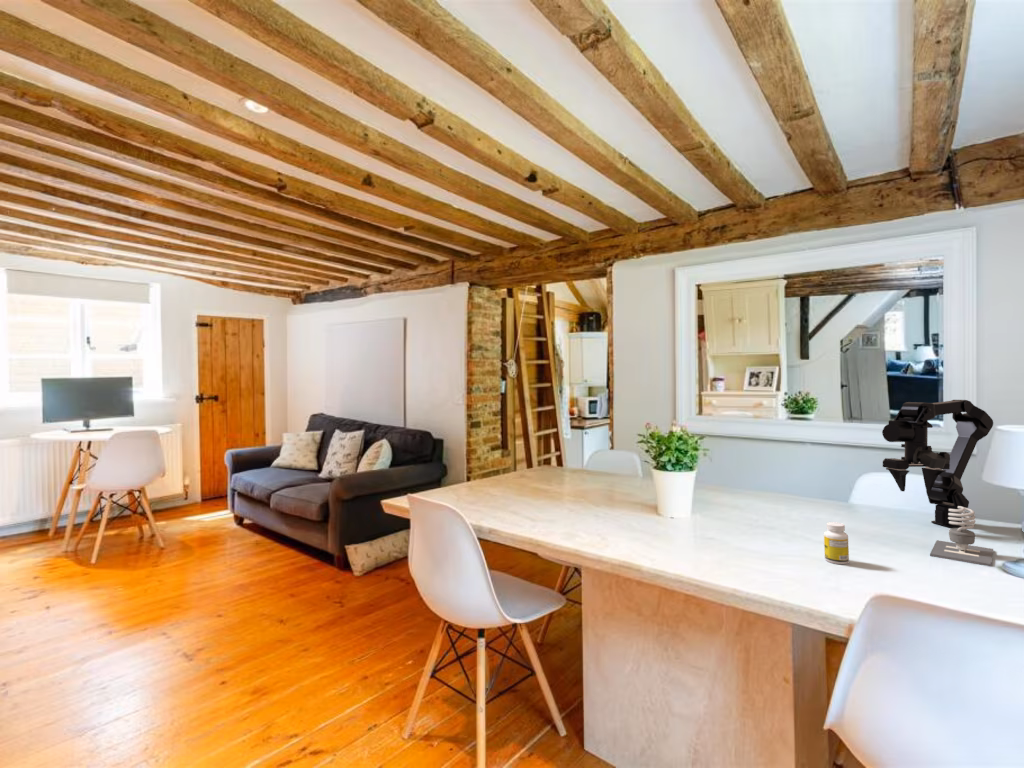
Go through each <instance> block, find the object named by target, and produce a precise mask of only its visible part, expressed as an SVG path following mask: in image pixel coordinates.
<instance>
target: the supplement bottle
mask: <svg viewBox="0 0 1024 768" xmlns="http://www.w3.org/2000/svg"><path fill="white" fill-rule="evenodd" d="M826 529H827V530H826V531H824V533H823V540H824V541H823V542H824V543H823V546H824V559H825V561H826V562H828V563H831V564H836V565H846V564H849V563H850V554H849V552H850V551H849V549H850V548H849V535H848V534H847V532H845V529H846V527H845V524H844V523H842V522H836V521H829V522H826Z"/></svg>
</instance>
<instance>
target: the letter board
mask: <svg viewBox="0 0 1024 768" xmlns="http://www.w3.org/2000/svg"><path fill="white" fill-rule="evenodd" d="M993 555H994V548H991V547H983V546H978V545H977V546H975V545H972V544H971V545H968V549H967V550H964V551H961V550H960V549H958V548H957V547H956V543H955V542H952V541H944V540H939V539H938V540H937V539H936V540H935V543H934V545H933V547H932V549H931V551H930V553H929V556H930V557H933V558H941V559H946V560H951V561H958V562H964V563H969V564H975V565H981V566H985V567H986V566H987V567H992V562H993Z"/></svg>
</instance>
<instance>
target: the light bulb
mask: <svg viewBox="0 0 1024 768" xmlns="http://www.w3.org/2000/svg"><path fill="white" fill-rule="evenodd" d="M958 508H959V509H949V511H950V512H959V513H962V514H957V513H948V515H949V516H956V517H962V518H956V517H948V519H949V520H954V521H949V524H953V525H960V526H962V527H952V528H949V529H948V536H949V540H950V542H952V543H956V547H957V548H958V549H960V550H961V551H964V550H967V549H968V545H971V546H972V545H974V544H975V542H976V541H975V540H976V535H975V532H974V531H972V530H971V529H973V528H975V527H976V526H975V525H976V524H975V523H976V515H975V510H973V509H971V508H969V507H968V508H965V507H962V506H958ZM955 521H962V522H955ZM965 525H967V526H965Z"/></svg>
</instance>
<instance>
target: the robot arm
mask: <svg viewBox="0 0 1024 768" xmlns="http://www.w3.org/2000/svg"><path fill="white" fill-rule="evenodd" d="M949 414H951V415H952V420H953V421H954V422H955V423H956V424H955V428H956V432H957V434H958V436H957V438H956V440H955V443H954V445H953V446H952V448H951V451H950V453H949V452H947V451H940V452H934V451H933V447H932V446H931V445H928V428H930V429H931V428H933V425H932V424H931V423H930V422H929V420H932V419H935V418H936V416H941V415H949ZM993 426H994V419H993V418H992V417H991V416H990V415H989V414H988V413H987V411H986V410H984V409H982V408H980V407H978V406H976V405H974V404H973V403H972V401H970V400H968V399H952V400H946V401H939V402H916V401H915V402H911V401H908V402H907V401H906V402H904V403H903V404H902V406H901V407H900V409H899V411H898V412H897V414H896V416H895V417H894V419H892V420H888V423H887V424H886V425H885V426H884V427H883V429H882V431H881V434H882V436H883V438H884V440H885V441H886V442H889V443H901V445H900V446H901V448H903V449H904V456H901V458H892V457H891V458H887V457H885V458H883V460H882V467H883V468H885V469H886V470H887V471H888V472H890V474H891V476H892V477H893V479H894V481H895V484H897V487H898V488H899V490H900V492H905V490H906V480H907V475H908V473H909V472H910V470H908V469H909V468H911V467H912V468H913V467H916V468H917V467H918V468H921V470H922V477H923V482H924V487H925V492H926V495H927V499H928V502H929V504H930V505H931V504H932V505H935V509H934V520H931V522H930V523H932V524H936V525H939V526H942V527H945V528H949V529H953V528H960V527H962V526H960V525H953V524H949V521H954V520H949V519H948V517H956V516H949V515H948V513H957V514H963V513H959V512H950V511H949V509H959V508H958V506H962V507H965V508H968V509H969V504H970V501H969V500H968V499H967V497H966V496H965V494H963V492H964V487H963V484H962V481H961V479H962V477H963V475H964V473H965V470H966V468H967V466H968V463H969V461H970V459H971V457H972V455H973V452H974V450H975V448H976V446H977V444H978V442H979V441H980V440H982V439H983V438H985V437H986V436H988V435H989V433H990V431H991V429H992V428H993ZM956 518H962V517H956ZM955 522H962V521H955ZM965 526H968V525H965Z"/></svg>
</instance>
